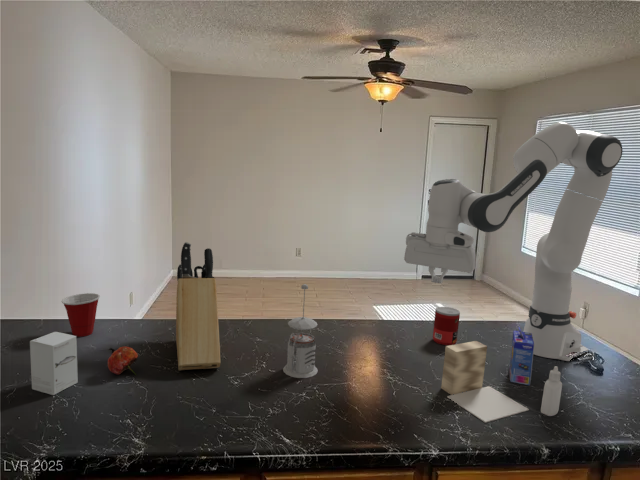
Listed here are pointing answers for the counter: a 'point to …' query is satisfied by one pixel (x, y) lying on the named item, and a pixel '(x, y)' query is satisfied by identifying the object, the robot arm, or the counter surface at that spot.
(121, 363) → the red rounded lump
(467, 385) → the block
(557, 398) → the eye dropper bottle
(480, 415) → the mat
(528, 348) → the ink cartridge box
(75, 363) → the supplement box
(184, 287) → the knife block
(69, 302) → the plastic cup
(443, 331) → the canned food
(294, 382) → the counter surface
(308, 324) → the french press
